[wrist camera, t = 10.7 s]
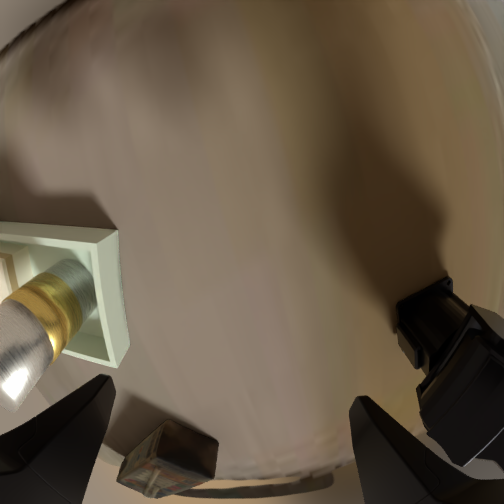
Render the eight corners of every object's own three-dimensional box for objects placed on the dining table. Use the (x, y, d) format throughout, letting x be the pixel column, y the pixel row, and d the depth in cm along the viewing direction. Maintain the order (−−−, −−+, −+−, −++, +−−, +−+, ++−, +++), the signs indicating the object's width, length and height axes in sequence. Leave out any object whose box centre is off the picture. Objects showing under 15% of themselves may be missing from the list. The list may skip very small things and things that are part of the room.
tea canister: (62, 244, 20) (-46, 318, 7) (109, 287, 21) (20, 393, 9) (45, 288, 21) (-39, 365, 9) (87, 326, 22) (17, 422, 10)
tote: (118, 229, 20) (96, 243, 17) (130, 344, 24) (117, 368, 20) (-7, 220, 19) (-28, 229, 16) (12, 312, 23) (-4, 326, 20)
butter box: (28, 245, 20) (1, 260, 16) (41, 310, 22) (20, 330, 18) (0, 241, 20) (-25, 254, 16) (13, 301, 22) (-8, 318, 18)
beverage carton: (122, 455, 33) (112, 484, 26) (166, 414, 28) (154, 457, 21) (164, 473, 34) (157, 503, 28) (222, 438, 29) (219, 481, 23)
